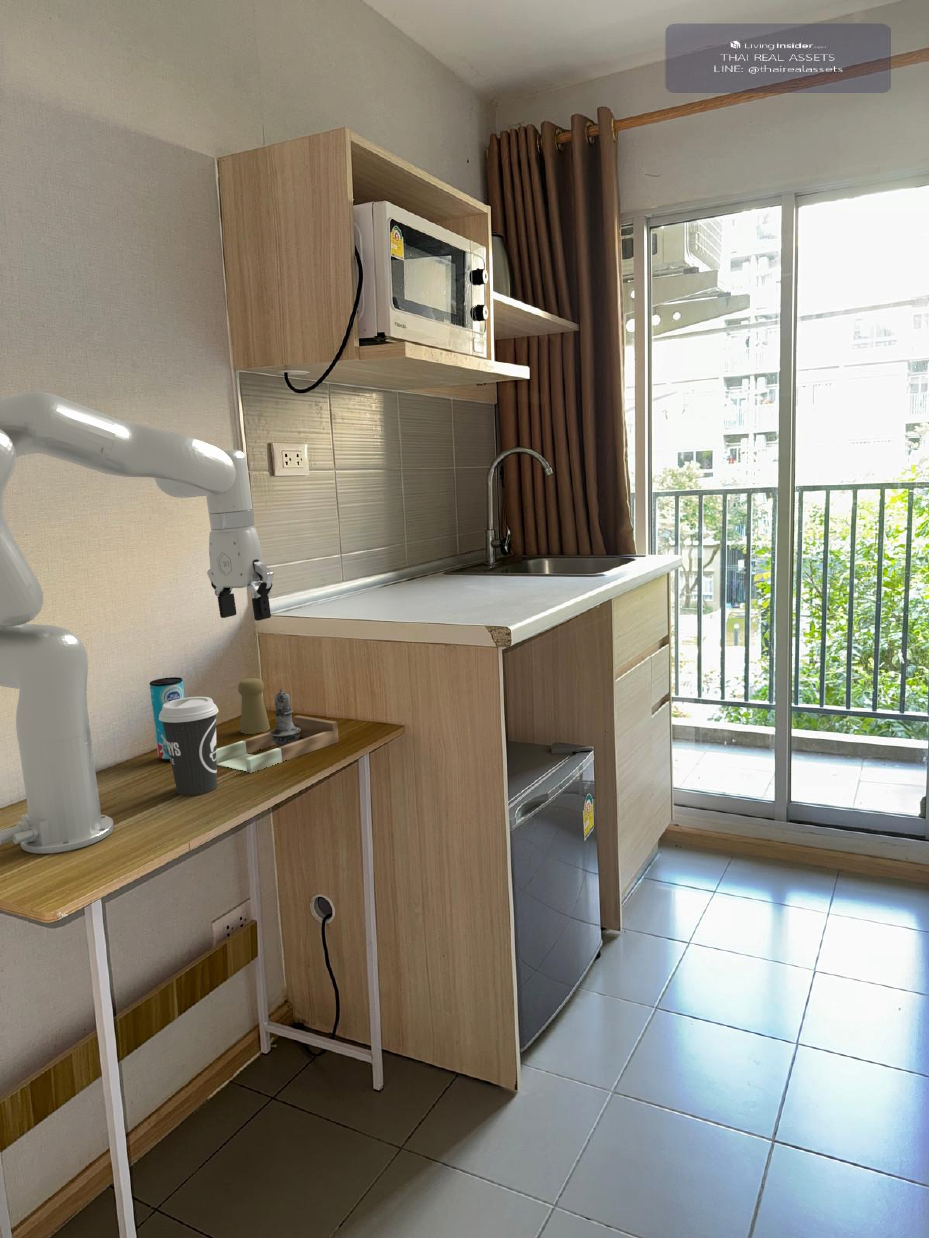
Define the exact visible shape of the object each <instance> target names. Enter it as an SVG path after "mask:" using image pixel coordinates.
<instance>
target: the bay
mask: <svg viewBox="0 0 929 1238" xmlns="http://www.w3.org/2000/svg"><path fill="white" fill-rule="evenodd" d="M292 719H293V725H294V726H295V727H298V728H300V729H301V731H300V732H299V733H300V735H299V738H302V739H298V740H297V741H296V742H293V743H290V744H287V745H284V746H281V747H278V748H275V747H274V746H276V745H277V744H276V743H275V742H274V741H273V739H272V735H270V732H271V731H269V732H268V731H267V732H264V733H260V734H257V735H256V736H253V737H250V738H245V739H243V740H240V741H236V742H234V743H230V744H227V745H225V746H222V747H219V748H218V747H217V748H216V753H217V766H219V767H222V768H227V767H229V768H228V769H231V768H232V770H235V769H236V771H240V770H243V771H242V772H244V771H246V772H245V773H248V772H249V774H253V773H252V772H254V773H256V772H258V771H257V770H259V771H262V770H265V769H267V768H270V767H273V766H275V764H276V765H278V764H277V763H279V764H281V763H284V762H286V761H285V760H287V761H289V760H293V759H295V758H298V757H300V756H303V755H306V754H309V753H312V752H315V751H317V750H320V749H322V748H326V747H328V746H331V745H334V744H336V743H339V742H340V741H339V728H338V727H339V726H338V721H334V720H328V719H321V718H317V717H316V718H315V717H310V716H305V715H298V714H297V715H294V716H292ZM269 746H270V747H274V748H275V749H274V748H273V749H269V750H267V751H264V752H261V753H258V754H253V753H255V752H258V751H260V750H259V749H261V750H263V749H266V748H269ZM257 750H258V751H257ZM248 753H250V754H248ZM283 761H284V762H283ZM272 765H273V766H272ZM266 767H267V768H266ZM264 768H265V769H264ZM255 771H256V772H255Z"/></svg>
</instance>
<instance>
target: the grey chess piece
mask: <svg viewBox="0 0 929 1238" xmlns="http://www.w3.org/2000/svg"><path fill="white" fill-rule="evenodd" d="M274 706H275V711H274V712H273V715H275V720H276V724H275V728H274V729H273V730H271V731H269V732H270V735H272V739H273V741H274V742H275V743H276V745H277V746H275V747H274V748H273V749H275V748H278V747H281V746H284V745H287V744H290V743H293V742H296V741H299V740H300V739H299V738H300V737H299V735H300V733H299V732H300V731H301V729H300V728H298V727H295V726H294V725H293V724H294V721H293V715H292V713H293V712H294V711H293V709H292V708H291V697H290V695H289V693H287V692H285V691H284V689H283V688H281V687H280V689H279V692H278V693H277V694H275V696H274Z"/></svg>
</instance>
